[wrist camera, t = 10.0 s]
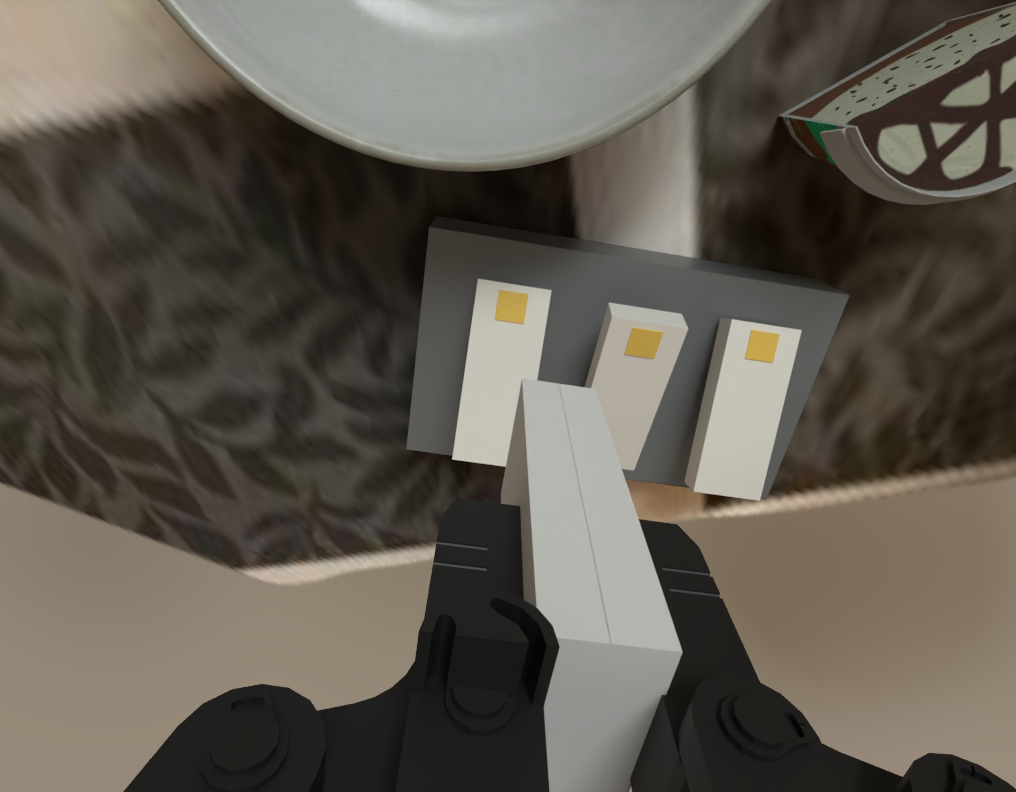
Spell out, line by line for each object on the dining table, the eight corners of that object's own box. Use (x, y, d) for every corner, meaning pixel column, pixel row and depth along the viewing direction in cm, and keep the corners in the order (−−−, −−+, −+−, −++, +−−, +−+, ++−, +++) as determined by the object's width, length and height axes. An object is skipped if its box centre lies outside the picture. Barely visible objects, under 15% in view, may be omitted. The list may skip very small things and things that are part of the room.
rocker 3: (720, 317, 34) (732, 319, 33) (787, 327, 35) (802, 330, 33) (684, 482, 36) (693, 492, 34) (748, 490, 36) (760, 501, 35)
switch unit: (436, 215, 36) (426, 229, 31) (816, 278, 38) (859, 300, 33) (414, 423, 42) (403, 460, 37) (743, 468, 44) (771, 509, 39)
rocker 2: (608, 302, 32) (612, 317, 30) (681, 313, 32) (688, 329, 31) (567, 444, 37) (569, 462, 36) (630, 453, 38) (634, 471, 36)
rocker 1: (477, 279, 33) (477, 278, 32) (548, 290, 34) (551, 290, 32) (453, 452, 35) (452, 459, 33) (520, 461, 35) (522, 469, 34)
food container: (787, 226, 36) (881, 262, 27) (753, 130, 34) (842, 134, 25) (998, 116, 34) (1178, 114, 25) (975, 4, 32) (1165, -43, 23)
